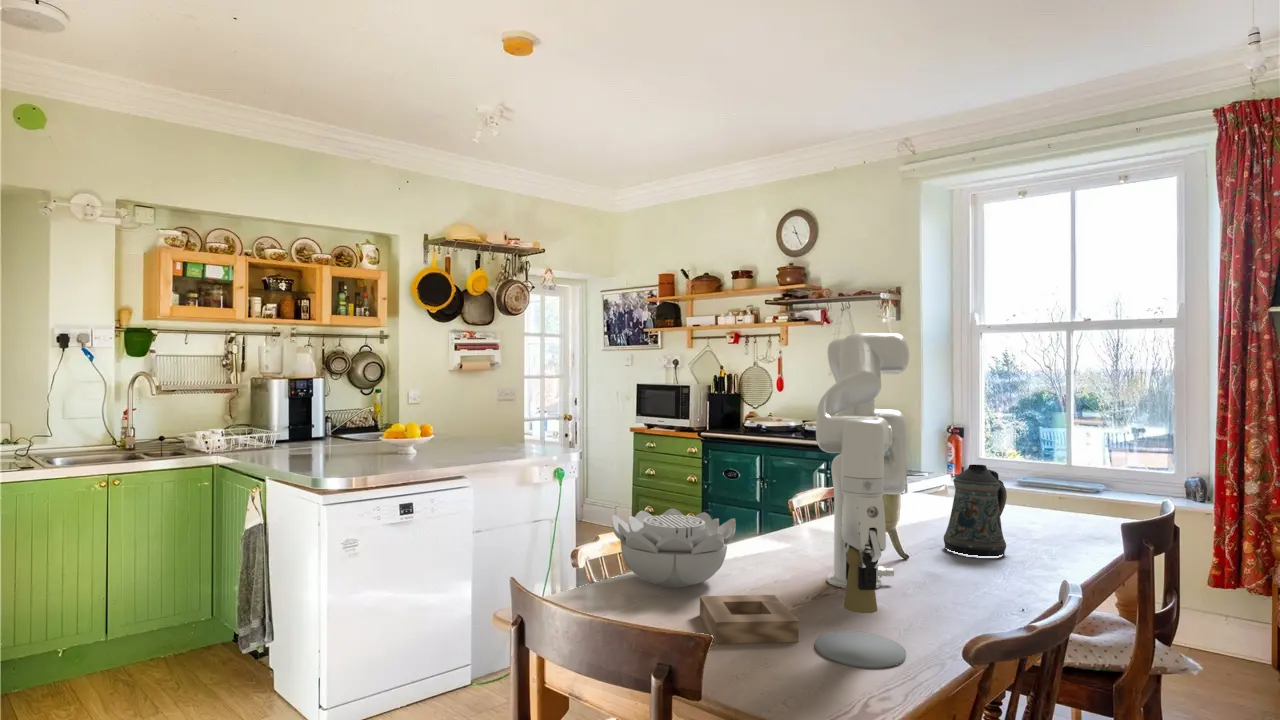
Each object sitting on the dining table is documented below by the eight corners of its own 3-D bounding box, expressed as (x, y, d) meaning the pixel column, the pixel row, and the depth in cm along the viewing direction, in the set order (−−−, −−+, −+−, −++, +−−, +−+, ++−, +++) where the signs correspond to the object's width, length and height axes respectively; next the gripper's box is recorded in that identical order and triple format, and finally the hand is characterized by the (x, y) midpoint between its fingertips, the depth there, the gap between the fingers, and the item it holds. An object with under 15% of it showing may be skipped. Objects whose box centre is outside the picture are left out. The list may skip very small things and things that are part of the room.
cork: (879, 614, 133) (879, 552, 133) (844, 611, 134) (845, 550, 134) (875, 604, 139) (876, 545, 139) (842, 601, 140) (842, 543, 140)
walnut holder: (774, 613, 156) (774, 594, 156) (798, 641, 140) (798, 620, 140) (699, 615, 154) (699, 596, 154) (715, 643, 138) (715, 622, 138)
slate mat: (882, 634, 145) (882, 630, 145) (922, 667, 129) (922, 662, 129) (803, 635, 143) (803, 631, 143) (833, 669, 127) (833, 664, 127)
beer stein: (937, 553, 211) (938, 465, 212) (952, 540, 227) (953, 459, 228) (1001, 562, 202) (1002, 471, 202) (1012, 549, 218) (1013, 464, 218)
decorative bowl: (760, 596, 168) (761, 530, 168) (635, 606, 159) (636, 536, 160) (710, 562, 197) (711, 506, 197) (602, 569, 188) (603, 510, 189)
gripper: (902, 493, 129) (901, 598, 128) (862, 479, 145) (861, 572, 145) (861, 493, 128) (859, 599, 127) (826, 479, 145) (824, 572, 144)
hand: (860, 583), depth 136 cm, fingers closed on cork, 4 cm apart
